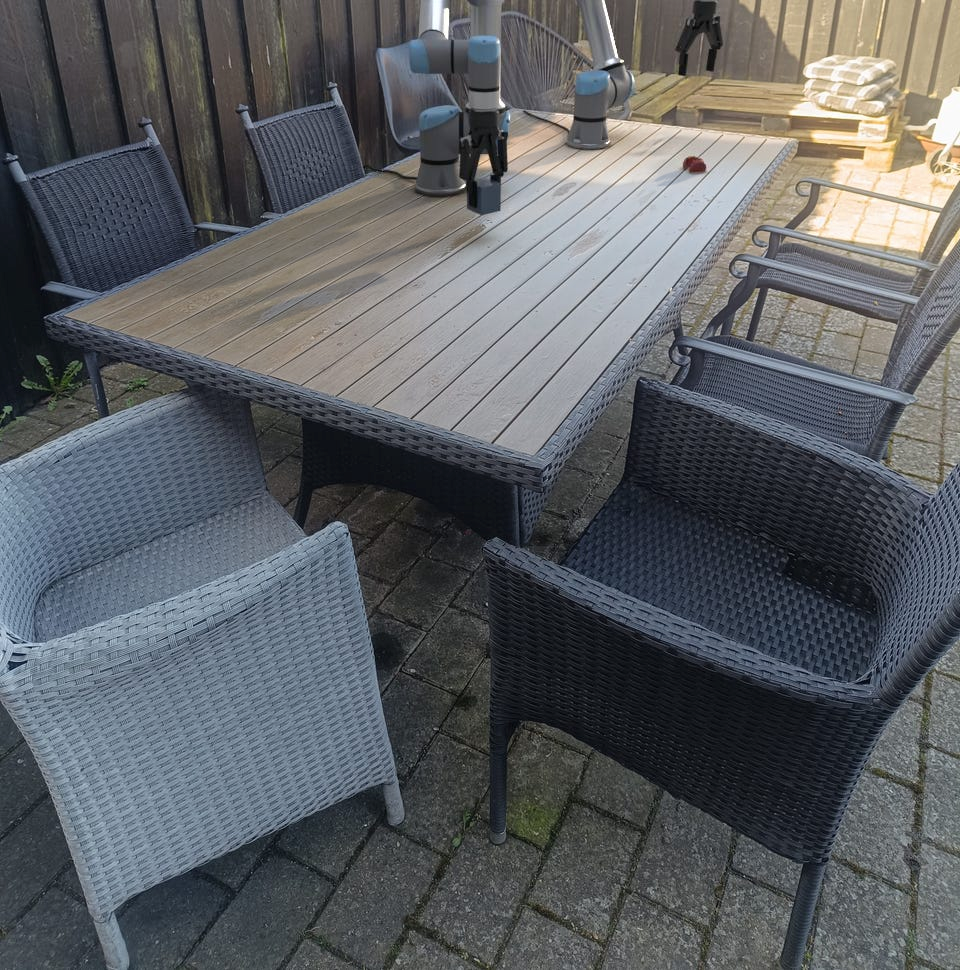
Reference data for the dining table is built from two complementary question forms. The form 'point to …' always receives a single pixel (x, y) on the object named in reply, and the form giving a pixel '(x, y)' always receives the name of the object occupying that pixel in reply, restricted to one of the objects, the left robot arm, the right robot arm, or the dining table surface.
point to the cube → (487, 197)
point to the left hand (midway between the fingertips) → (483, 203)
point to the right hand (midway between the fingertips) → (695, 73)
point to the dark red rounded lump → (694, 164)
